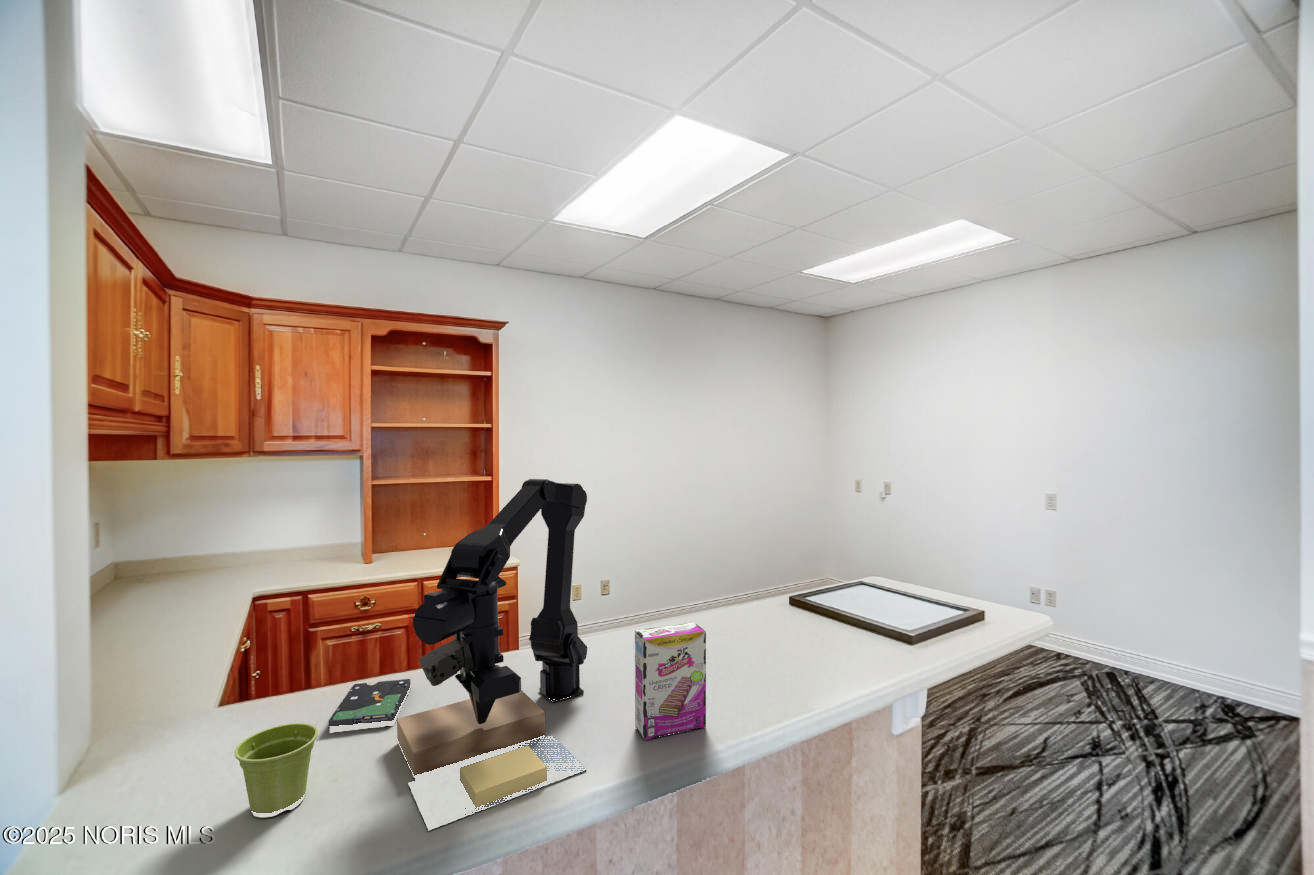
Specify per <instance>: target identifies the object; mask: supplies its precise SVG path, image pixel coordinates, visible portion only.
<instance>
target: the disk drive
mask: <svg viewBox="0 0 1314 875" xmlns="http://www.w3.org/2000/svg"><path fill="white" fill-rule="evenodd" d="M410 685H411V679H410V678H405V679H396V680H393V679H392V680H381V681H378V682H376V683H374V684H368V683H367V682H361V683H353V685H352V686H351V688H350V689H349V690H348V692H347V694H346V695H345V696H344V698H343V699H342V701H341V702H340V703H339V705H338V706H337V708H336V709H335V711H334V712H333V713H332V714H331V717H330V718H329V719H328V726H339V725H353V724H358V723H372V722H381V721H392V720H394V718H395V716H396V714H397V712H398V710H399V707H400V706H401V703H402V702H403V700H404V698H405V696H406V694H407V691H408V690H409V688H410ZM410 689H411V688H410Z"/></svg>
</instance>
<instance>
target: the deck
mask: <svg viewBox="0 0 1314 875" xmlns="http://www.w3.org/2000/svg"><path fill="white" fill-rule="evenodd" d="M396 732H397V733H396V734H397V739H398V741H399V744H400V746H401V748H402V750H403V753H404V755H405V757H406V759H407V762H408V764H409V766H410V768H411V770H412V772H413V774H414V776H415V775H417V774H422V773H424V772H429V771H432V770H434V769H437V768H440V767H444V766H446V765H450V764H453V763H457V762H459V761H463V760H465V759H469V758H471V757H475V756H477V755H481V754H483V753H488V752H490V751H494V750H497V749H501V748H506V747H508V746H512V745H515V744H518V743H521V742H524V741H528V740H532V739H534V738H538V737H540V736H543V735H545V736H546V713H545V711H544V710H543V709H542V708H541V707H540V706H539V705H538V704H537V703H536V702H535V701H534V700H533V699H532V698H531V697H530V696H528V695H527V693H525V692H524V690H522V689H521V691H520V692H519V693H516V694H513V695H509V696H506V697H502V698H499V699H496V700H495V702H494V704H493V707H492V709H491V711H490V713H489V716H488V718H487V720H486V722H485V723H483V724H478V722H477V720H476V717H475V713H474V710H473V706H472V703H471V699H470V698H469V699H465V700H462V701H457V702H454V703H450V704H447V705H442V706H438V707H435V708H432V709H427V710H425V711H422V712H417V713H414V714H410V715H406V716H402V717H398V718H397V720H396ZM397 739H396V740H397Z"/></svg>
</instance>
